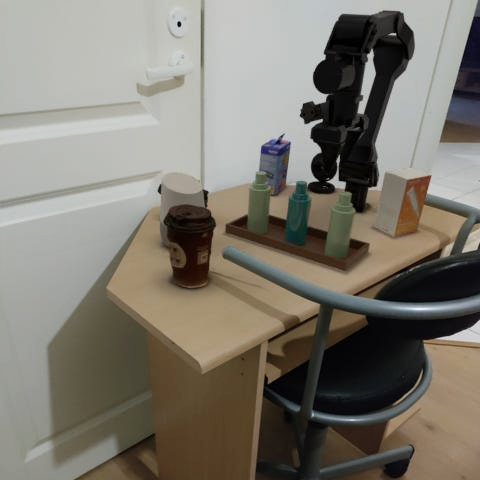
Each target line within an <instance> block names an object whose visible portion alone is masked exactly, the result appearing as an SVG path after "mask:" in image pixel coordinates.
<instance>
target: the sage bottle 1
mask: <svg viewBox="0 0 480 480" xmlns="http://www.w3.org/2000/svg"><path fill="white" fill-rule="evenodd" d="M271 196H272V195H271V187H270V186H268V182H266V172H262V171H259V170H258V171H256V172H255V180H253V181H252V184H250V185H249V186H248V200H247V201H248V202H247V214H248V219H247V230H249V231H253V232H256V233H259V234H263V233H266V232H267V231H268V223H269V215H270V211H271V210H270V208H271Z"/></svg>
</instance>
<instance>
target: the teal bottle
mask: <svg viewBox="0 0 480 480" xmlns="http://www.w3.org/2000/svg"><path fill="white" fill-rule="evenodd" d="M294 189H295V190H293V191H292V194H289V195H288V197H287V198H288V199H287V200H288V201H287V208H286V209H287V211H286V218H285V219H286V229H285V239H284V241H285V242H288V243H291V244H294V245H297V246H301V245H304V244H306V240H307V232H308V226H309V224H310V215H311V208H312V200H313V199H312V197H311V196H310V195H309V194H310V193H309V191H308V190H307V189H308V181H305V180H297V181H296V182H295V188H294Z"/></svg>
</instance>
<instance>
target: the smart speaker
mask: <svg viewBox="0 0 480 480" xmlns="http://www.w3.org/2000/svg"><path fill="white" fill-rule="evenodd" d="M199 180H200V179H198V178H196V177H194V176H193V175H190V174H187V173H183V172H177V171H175V172H174V171H173V172H167V173H166V174H164V175H163V176H162V177H161V183H160V184H161V194H160V208H159V209H160V210H159V232H160V233H159V234H160V238H161V241H162V243H163V245H164V246H165V247H167V248H168V240H167V226H166V225H165V224H164V223H163V220H164V218H165V216H166V215H167V213H168V212H169V211H168V210H169V209H170V208H171V207H173V206H178V205H183V204H187V205H188V204H189V205H194V206H198V207H204V208H205V203H204V195H203V190H204V188H203V184H202V183H201V180H200V181H199Z"/></svg>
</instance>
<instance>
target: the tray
mask: <svg viewBox="0 0 480 480" xmlns="http://www.w3.org/2000/svg"><path fill="white" fill-rule="evenodd" d="M247 219H248V213H246V214H244V215H242V216H240V217H237V218H236V219H234V220H232V221H230V222H228V223H225V233H226V234H228V235H233V236H234V237H235V236H236V237H239V238H241V239H245V240H247V241H251V242H254V243H257V244H261V245H264V246H267V247H269V248H272V249H274V250H275V249H276V250H279V251H282V252H285V253H288V254H291V255H294V256H297V257H300V258H304V259H306V260H309V261H312V262H315V263H318V264H322V265H325V266H327V267H331V268H334V269H337V270H340V271H343V272H345V271H347V270H348V269H349V268H351V267H352V266H353V265H354V264H355V263H356V262H357V261H359V260H360V259H361V258H363V257H364V256H365V255H366V254H368V253H369V250H370V246H371V243H369V242H366V241H363V240H359V239H355V238H352V237H351V239H350V244H349V250H348V255H347V257H346V258H344V259H339V258H336V257H332V256H329V255H326V254H325V253H324V252H325V245H326V239H327V232H328V230H324V229H322V228H318V227H314V226H311V225H308V232H307V240H306V244H304V245H301V246H297V245H294V244H291V243H288V242H285V241H284V239H285V229H286V219H287V218H282V217H279V216H276V215H273V214H269V223H268V231H267V232H266V233H263V234H259V233H256V232H253V231H249V230H247Z"/></svg>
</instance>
